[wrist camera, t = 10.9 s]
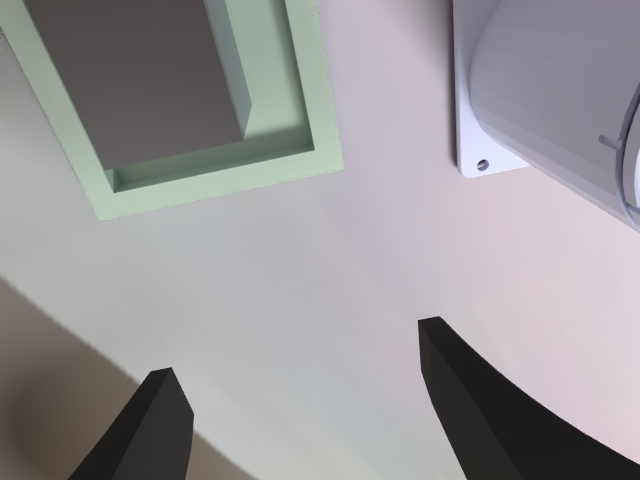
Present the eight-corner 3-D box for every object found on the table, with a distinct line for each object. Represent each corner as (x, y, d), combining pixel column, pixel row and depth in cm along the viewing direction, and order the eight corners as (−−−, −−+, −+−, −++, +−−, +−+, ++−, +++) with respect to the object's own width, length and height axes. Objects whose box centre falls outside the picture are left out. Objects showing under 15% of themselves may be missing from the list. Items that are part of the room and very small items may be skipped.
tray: (271, -239, 12) (270, -269, 11) (339, 157, 18) (344, 169, 17) (-66, -163, 12) (-107, -183, 11) (113, 205, 18) (100, 221, 17)
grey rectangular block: (190, -130, 13) (145, -202, 8) (252, 104, 16) (243, 140, 12) (61, -102, 13) (-51, -158, 8) (150, 126, 16) (104, 170, 12)
